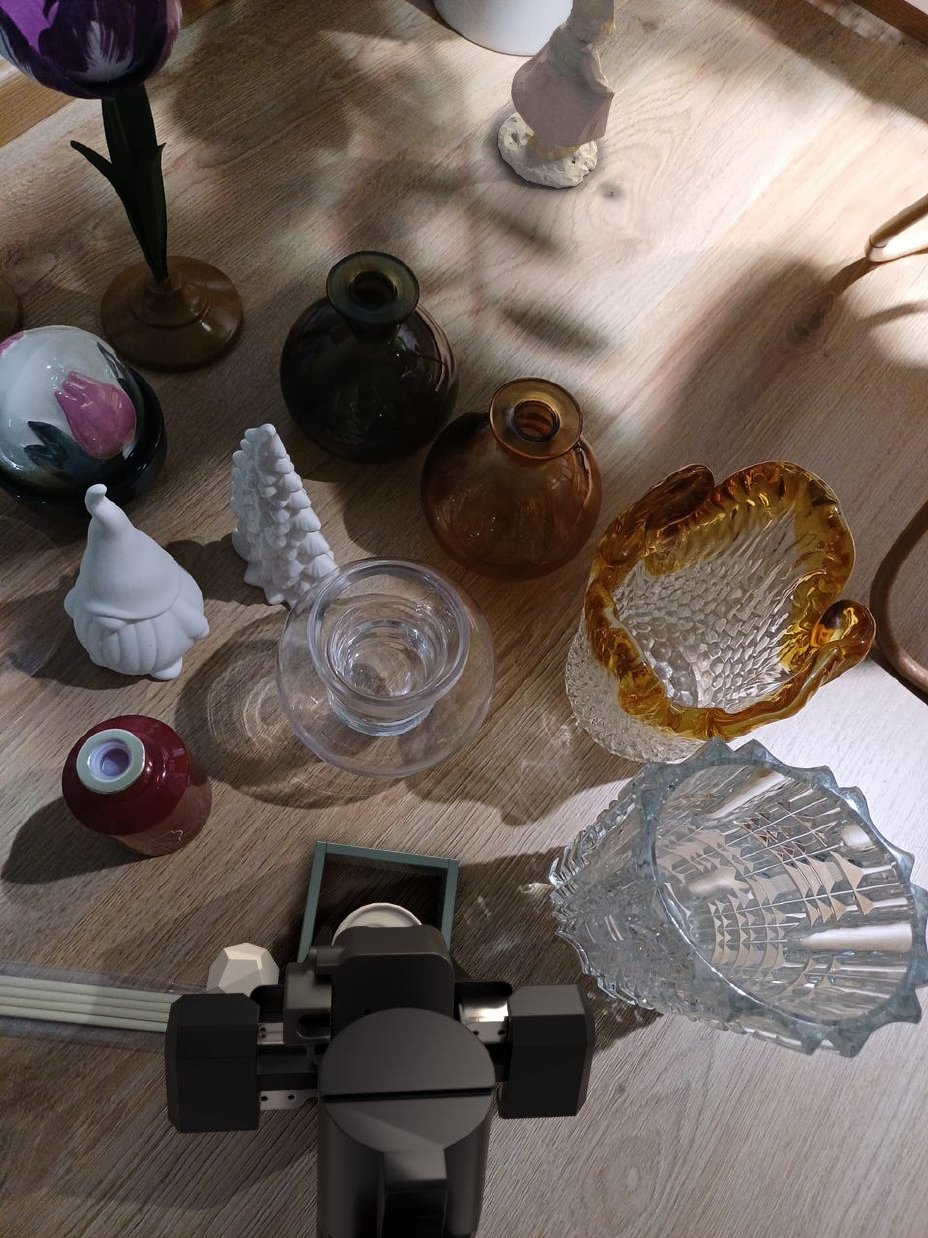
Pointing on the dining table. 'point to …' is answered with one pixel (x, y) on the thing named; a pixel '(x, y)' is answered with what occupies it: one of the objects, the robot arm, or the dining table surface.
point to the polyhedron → (241, 970)
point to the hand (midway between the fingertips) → (376, 931)
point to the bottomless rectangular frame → (382, 861)
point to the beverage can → (378, 917)
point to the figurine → (561, 101)
